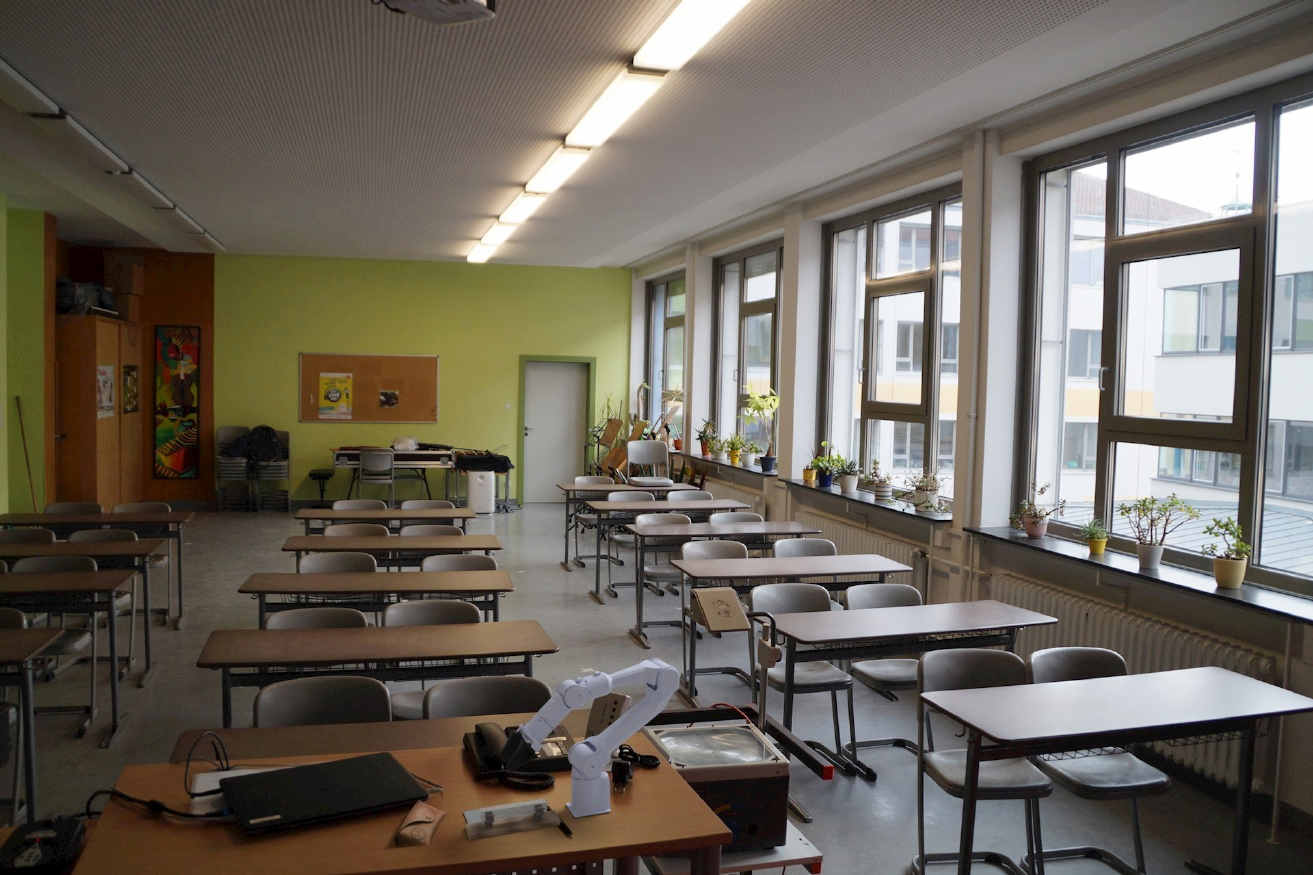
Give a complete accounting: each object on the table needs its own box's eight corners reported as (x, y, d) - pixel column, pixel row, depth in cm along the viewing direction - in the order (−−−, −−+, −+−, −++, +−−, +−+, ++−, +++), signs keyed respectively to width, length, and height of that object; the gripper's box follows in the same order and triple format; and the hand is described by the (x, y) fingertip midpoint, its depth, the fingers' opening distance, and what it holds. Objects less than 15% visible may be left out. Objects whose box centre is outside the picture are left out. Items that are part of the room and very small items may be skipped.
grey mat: (542, 801, 230) (542, 799, 230) (549, 812, 224) (549, 811, 224) (463, 812, 223) (463, 811, 223) (468, 825, 217) (468, 823, 217)
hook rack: (554, 814, 223) (554, 796, 223) (560, 824, 217) (561, 806, 217) (465, 828, 215) (465, 809, 215) (469, 839, 209) (469, 820, 209)
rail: (544, 807, 220) (544, 798, 220) (547, 811, 218) (547, 802, 218) (479, 817, 214) (479, 808, 214) (481, 821, 212) (481, 812, 212)
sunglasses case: (431, 846, 206) (416, 821, 206) (404, 861, 206) (390, 836, 206) (448, 811, 224) (435, 788, 224) (424, 825, 224) (410, 802, 224)
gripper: (526, 703, 226) (486, 745, 222) (542, 718, 213) (500, 763, 209) (544, 722, 228) (505, 763, 224) (561, 738, 214) (520, 782, 210)
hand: (504, 764), depth 216 cm, fingers open, 7 cm apart
